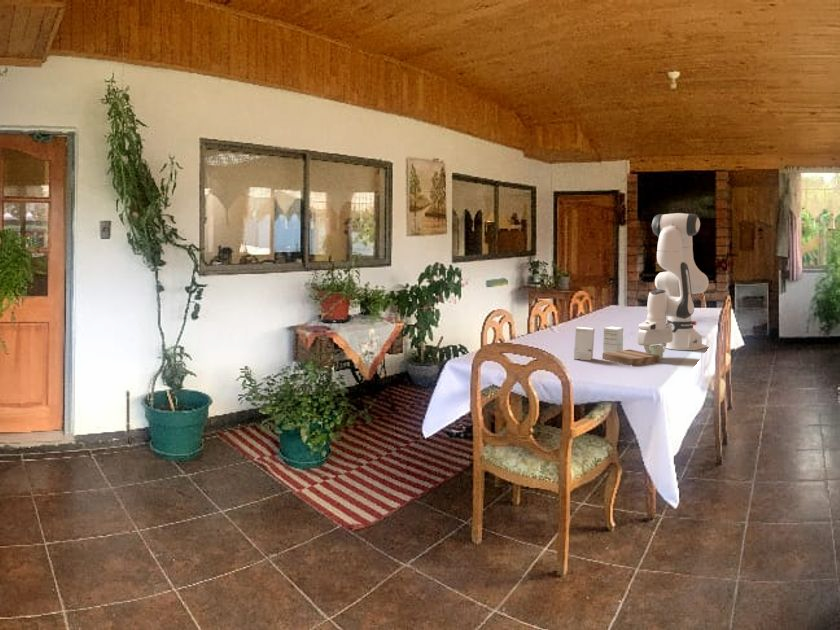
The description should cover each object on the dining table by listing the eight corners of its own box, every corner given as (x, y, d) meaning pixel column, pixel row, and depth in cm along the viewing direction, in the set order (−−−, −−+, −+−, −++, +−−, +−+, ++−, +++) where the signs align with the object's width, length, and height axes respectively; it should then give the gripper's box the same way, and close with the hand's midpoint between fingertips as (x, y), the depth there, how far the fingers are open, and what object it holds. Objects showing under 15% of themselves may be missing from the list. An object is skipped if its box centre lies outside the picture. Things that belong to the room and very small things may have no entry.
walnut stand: (629, 355, 340) (629, 349, 340) (659, 361, 325) (659, 355, 324) (602, 359, 331) (602, 352, 331) (631, 365, 316) (632, 359, 315)
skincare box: (573, 359, 331) (574, 328, 329) (575, 357, 336) (576, 326, 334) (591, 360, 328) (592, 329, 326) (593, 358, 333) (594, 327, 331)
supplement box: (608, 351, 352) (609, 326, 350) (623, 352, 347) (624, 327, 346) (602, 353, 346) (603, 327, 345) (616, 355, 342) (617, 329, 340)
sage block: (654, 356, 338) (654, 344, 337) (662, 358, 334) (663, 345, 333) (646, 357, 336) (647, 345, 335) (655, 359, 331) (655, 346, 331)
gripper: (665, 321, 341) (664, 350, 342) (636, 325, 330) (634, 354, 332) (676, 323, 335) (675, 352, 337) (646, 326, 325) (645, 356, 327)
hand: (655, 353), depth 334 cm, fingers open, 8 cm apart
